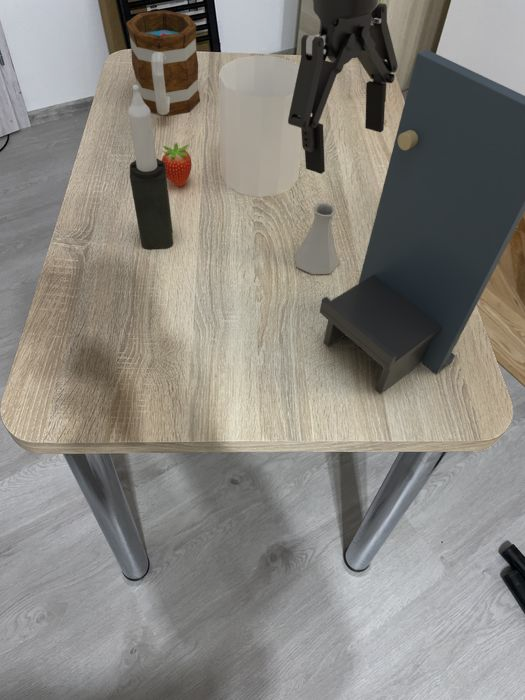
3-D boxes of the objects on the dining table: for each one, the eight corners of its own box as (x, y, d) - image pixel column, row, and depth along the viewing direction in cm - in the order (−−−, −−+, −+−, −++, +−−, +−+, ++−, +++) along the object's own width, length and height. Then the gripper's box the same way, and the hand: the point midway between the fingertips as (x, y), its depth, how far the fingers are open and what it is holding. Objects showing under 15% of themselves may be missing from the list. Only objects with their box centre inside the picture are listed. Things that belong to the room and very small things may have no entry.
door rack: (387, 413, 69) (493, 163, 41) (303, 337, 76) (344, 80, 48) (452, 362, 75) (585, 111, 46) (368, 295, 82) (439, 44, 54)
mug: (140, 84, 120) (130, 8, 108) (201, 85, 120) (198, 11, 109) (129, 131, 108) (117, 52, 96) (197, 132, 108) (193, 54, 97)
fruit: (181, 197, 95) (177, 156, 89) (158, 187, 97) (152, 146, 90) (199, 182, 98) (196, 141, 92) (176, 172, 100) (172, 132, 93)
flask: (289, 271, 85) (295, 219, 77) (298, 241, 89) (305, 190, 81) (335, 280, 84) (345, 229, 76) (341, 250, 88) (352, 199, 80)
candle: (173, 248, 87) (156, 94, 67) (141, 249, 86) (114, 95, 67) (172, 227, 90) (155, 75, 70) (141, 229, 89) (115, 75, 70)
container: (297, 154, 105) (308, 58, 91) (298, 199, 96) (310, 100, 82) (223, 150, 105) (222, 53, 91) (217, 195, 96) (215, 95, 82)
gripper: (382, -59, 68) (375, 108, 84) (245, 1, 57) (267, 181, 73) (434, -56, 64) (418, 119, 80) (298, 9, 53) (309, 197, 69)
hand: (345, 149), depth 76 cm, fingers open, 13 cm apart
